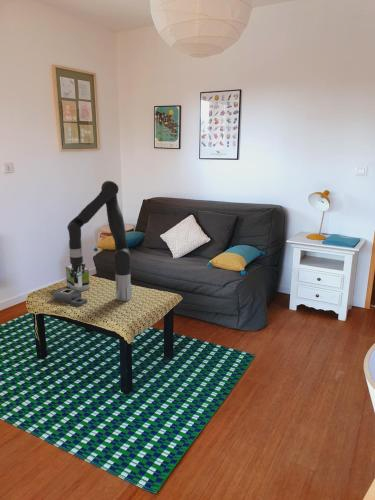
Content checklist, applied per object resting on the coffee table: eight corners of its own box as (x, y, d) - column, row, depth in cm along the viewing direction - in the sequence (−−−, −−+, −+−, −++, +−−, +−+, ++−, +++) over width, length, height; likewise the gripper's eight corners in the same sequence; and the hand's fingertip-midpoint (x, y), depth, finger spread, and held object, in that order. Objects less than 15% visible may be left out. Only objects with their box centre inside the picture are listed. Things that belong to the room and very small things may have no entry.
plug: (82, 285, 238) (81, 271, 235) (79, 287, 235) (78, 273, 232) (77, 285, 239) (76, 271, 237) (74, 286, 236) (73, 272, 233)
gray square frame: (87, 302, 242) (87, 299, 241) (80, 306, 236) (80, 303, 235) (77, 300, 244) (77, 297, 244) (70, 304, 238) (70, 301, 238)
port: (81, 297, 249) (81, 290, 247) (71, 303, 240) (71, 295, 238) (63, 294, 253) (63, 286, 252) (53, 299, 244) (52, 292, 243)
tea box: (66, 286, 268) (64, 266, 264) (79, 283, 274) (78, 263, 270) (76, 292, 257) (75, 271, 253) (90, 289, 264) (89, 268, 260)
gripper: (74, 259, 224) (76, 287, 229) (88, 252, 237) (90, 279, 241) (63, 257, 226) (65, 285, 231) (78, 251, 239) (80, 277, 244)
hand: (78, 282), depth 236 cm, fingers closed on plug, 3 cm apart
